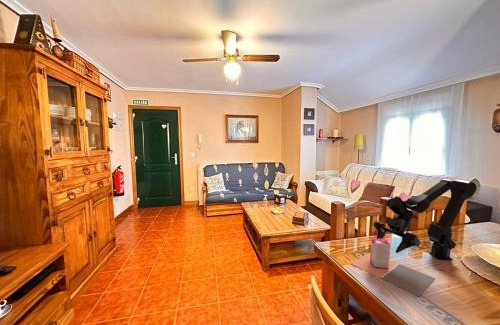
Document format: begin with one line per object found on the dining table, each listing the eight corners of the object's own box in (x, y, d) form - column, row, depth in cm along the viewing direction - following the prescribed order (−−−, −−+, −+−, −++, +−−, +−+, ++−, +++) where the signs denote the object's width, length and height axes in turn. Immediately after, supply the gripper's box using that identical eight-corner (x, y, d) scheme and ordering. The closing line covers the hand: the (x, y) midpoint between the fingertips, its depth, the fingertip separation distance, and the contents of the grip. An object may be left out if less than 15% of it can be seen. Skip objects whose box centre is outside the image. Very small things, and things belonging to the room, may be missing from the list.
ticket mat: (435, 278, 89) (435, 278, 89) (419, 296, 79) (419, 295, 79) (370, 252, 110) (370, 251, 110) (350, 263, 100) (350, 263, 100)
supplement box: (389, 269, 95) (390, 244, 94) (374, 268, 96) (376, 243, 95) (383, 262, 101) (385, 238, 100) (369, 261, 102) (371, 237, 101)
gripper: (376, 205, 108) (359, 230, 105) (418, 216, 91) (399, 247, 88) (386, 218, 112) (370, 242, 109) (427, 231, 95) (410, 261, 92)
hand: (385, 247), depth 99 cm, fingers open, 9 cm apart
